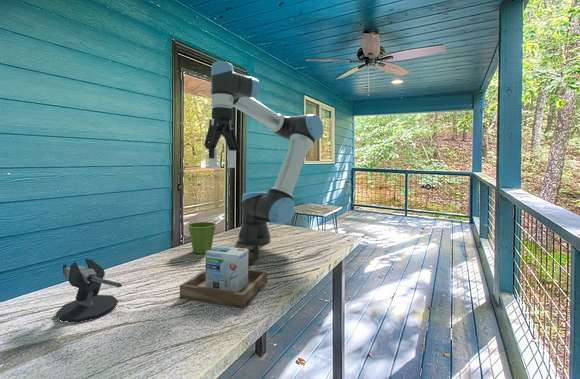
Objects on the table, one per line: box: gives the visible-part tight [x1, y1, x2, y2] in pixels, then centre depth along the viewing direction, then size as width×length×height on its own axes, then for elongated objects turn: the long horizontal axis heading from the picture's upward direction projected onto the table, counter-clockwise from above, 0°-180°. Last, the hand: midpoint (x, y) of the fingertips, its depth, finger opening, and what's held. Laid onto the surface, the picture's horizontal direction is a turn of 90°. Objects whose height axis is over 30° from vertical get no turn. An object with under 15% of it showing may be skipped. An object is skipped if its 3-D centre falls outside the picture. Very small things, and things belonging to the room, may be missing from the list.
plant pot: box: [186, 221, 218, 254], centre depth 121 cm, size 12×12×11 cm
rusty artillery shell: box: [248, 245, 259, 267], centre depth 108 cm, size 19×4×5 cm, turn 165°
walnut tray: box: [179, 268, 268, 309], centre depth 86 cm, size 17×19×4 cm
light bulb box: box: [205, 245, 249, 292], centre depth 85 cm, size 11×7×11 cm, turn 73°
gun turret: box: [55, 258, 123, 323], centre depth 72 cm, size 13×20×13 cm, turn 68°
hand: (222, 168), depth 107 cm, fingers open, 13 cm apart
